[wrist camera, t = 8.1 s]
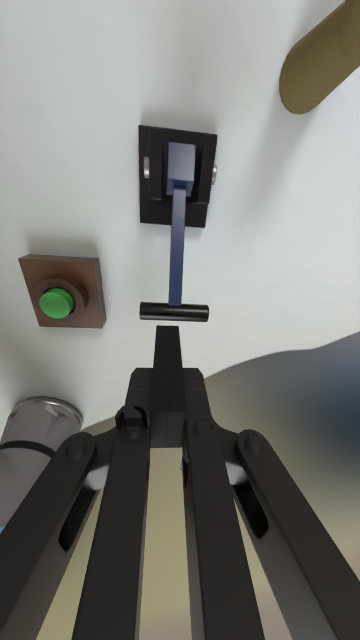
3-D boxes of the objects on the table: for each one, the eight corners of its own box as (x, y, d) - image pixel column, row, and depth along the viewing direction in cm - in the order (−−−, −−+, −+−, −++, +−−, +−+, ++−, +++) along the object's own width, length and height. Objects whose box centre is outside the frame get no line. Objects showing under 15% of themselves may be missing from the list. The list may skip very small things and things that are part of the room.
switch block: (106, 320, 36) (99, 334, 32) (47, 318, 35) (33, 332, 31) (98, 258, 31) (89, 266, 27) (29, 254, 30) (9, 261, 26)
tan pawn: (341, 83, 23) (465, -4, 13) (292, 128, 25) (372, 80, 15) (322, 15, 20) (459, -149, 11) (269, 71, 22) (348, -30, 13)
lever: (203, 320, 20) (209, 323, 17) (141, 318, 19) (138, 320, 17) (212, 167, 19) (219, 147, 16) (146, 160, 18) (143, 138, 16)
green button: (76, 313, 31) (72, 319, 29) (49, 312, 30) (42, 318, 29) (71, 288, 29) (66, 293, 27) (42, 287, 28) (35, 292, 27)
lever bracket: (203, 227, 30) (225, 240, 19) (141, 222, 29) (125, 233, 18) (214, 137, 25) (254, 83, 14) (139, 128, 24) (117, 62, 13)
